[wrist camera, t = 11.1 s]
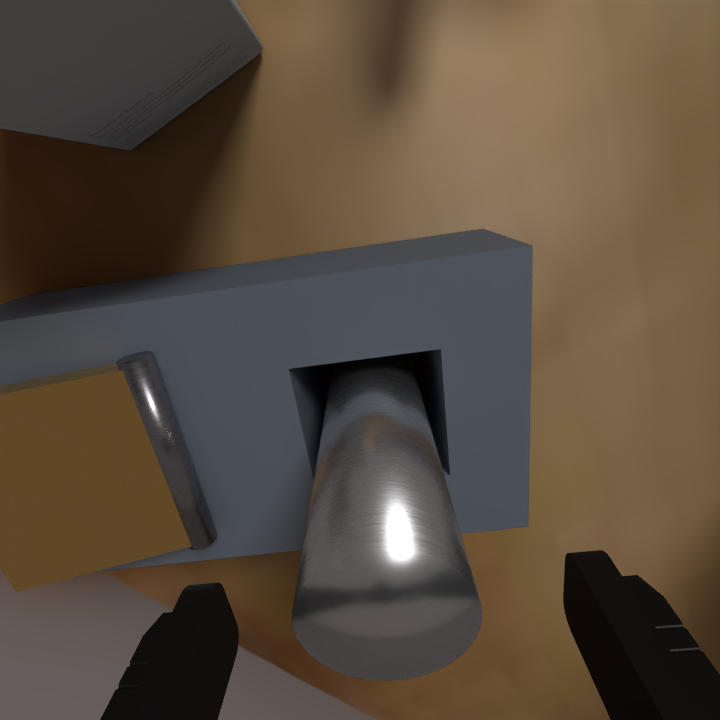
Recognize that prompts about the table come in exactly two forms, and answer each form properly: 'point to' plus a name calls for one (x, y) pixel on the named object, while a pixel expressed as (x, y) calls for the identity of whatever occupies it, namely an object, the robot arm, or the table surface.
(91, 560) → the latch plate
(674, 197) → the table surface
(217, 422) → the pin block
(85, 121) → the supplement box
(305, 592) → the steel pin
